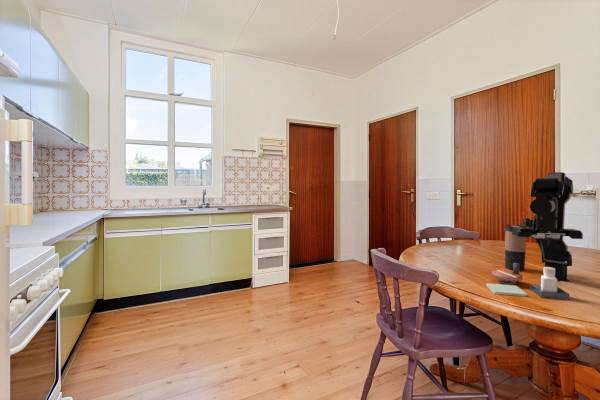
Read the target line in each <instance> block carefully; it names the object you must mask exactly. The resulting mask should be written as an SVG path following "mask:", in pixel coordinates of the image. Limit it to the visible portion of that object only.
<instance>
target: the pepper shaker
mask: <svg viewBox="0 0 600 400" xmlns="http://www.w3.org/2000/svg"><path fill="white" fill-rule="evenodd" d="M542 272H543V273H544V275H543V273H542V275H541V276H540V285H541V289H542V290H543V291H552V292H557V287H558V280H557V278H556V277H555V268H552V267H544V266H543V270H542Z"/></svg>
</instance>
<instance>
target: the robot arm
mask: <svg viewBox="0 0 600 400" xmlns="http://www.w3.org/2000/svg"><path fill="white" fill-rule="evenodd" d="M566 175H567V174H566V173H565V172H563V171H561V172H558V171H557V172H556V171H555V172H549V173H547V176H545V177H539V178H538V177H537V178H536V179H535V181H532V185H531V186H532V187H531V191H530V198H535V199H534V200H533V199H532V201H531V202H530V204H529V209H530V211H531V213H533V214H535V215H534V216H533V219H531V218H527V217H526V218H522V225H523V227H514V228H513V230H512V234H513V235H515V236H518V237H526V238H531V239H534V240H535V242H536V244H537V245H538V248H539V250H540V252H541V263H543V264H544V265H543V267H552V268H555V277H556V278H557V281H561V282H562V281H563V282H570V279H569V278H568V267H572V266H573V255H572V254H571V252H570V250H569V246H568V245H567V243H566V242H565V241H564V237H569V238H570V239H573V240H583V237H584V234H583V232H582V231H581V230H578V229H576V228H565V213H566V212H565V211H566V204H567V203H568V202H569V201H570V199H571V198H572V197H571V196H572V195H573V194H574V182H573V180H572V179H571V178H569V177H568V176H566ZM525 227H526V228H525ZM543 275H544V273H542V276H543Z"/></svg>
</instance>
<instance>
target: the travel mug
mask: <svg viewBox="0 0 600 400" xmlns="http://www.w3.org/2000/svg"><path fill="white" fill-rule="evenodd" d="M514 227H523V224H515V225H510V224H505V239H504V267H505V269H507V270H508V271H510V270H511V271H513V263H518V264H519V272H523V271H525V265H526V254H527V253H526V249H527V248H526V245H527V243H526V241H527V237H518V236H515V235H513V234H512V230H513V228H514ZM525 228H527V227H525Z"/></svg>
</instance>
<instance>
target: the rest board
mask: <svg viewBox="0 0 600 400" xmlns="http://www.w3.org/2000/svg"><path fill="white" fill-rule="evenodd" d="M485 286H486V287H487V288H488V289H489V290H490V291H491V292H492V293H493V294H494V295H503V296H504V295H505V296H516V297H517V296H518V297H528V293H526V292H525V291H524V290H522V289H521V288H520V287H519V286H517V285H516V284H515V285H507V284H502V283H498V284H497V283H485Z"/></svg>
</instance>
